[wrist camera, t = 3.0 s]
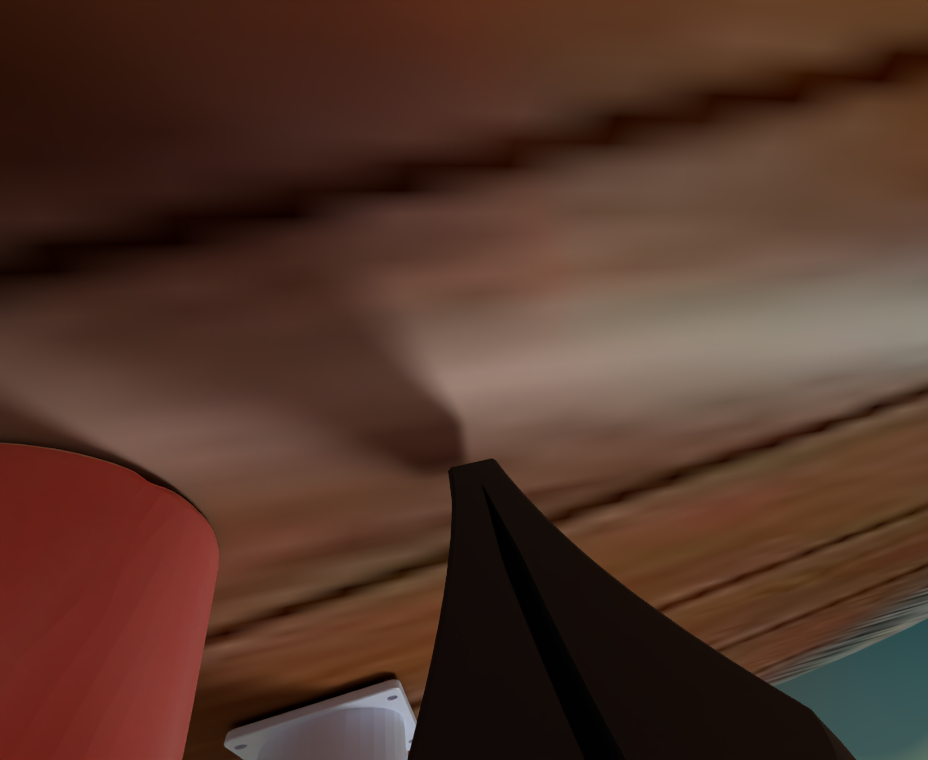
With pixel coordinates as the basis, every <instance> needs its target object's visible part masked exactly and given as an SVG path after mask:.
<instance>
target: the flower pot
mask: <svg viewBox="0 0 928 760" xmlns="http://www.w3.org/2000/svg"><path fill="white" fill-rule="evenodd" d="M218 567H219V548H218V543H217V539H216V536H215V534H214V531H213V530H212V528H211V526H210V524H209V523H208V522H207V520H206V519H205V518H204V517H203V516H202V515H201V514H200V512H199V511H198V510H197V509H196V508H195V507H194V506H192V505H191V504H190V503H189V502H188V501H186V500H185V499H184V498H183V497H181V496H180V495H178V494H177V493H175V492H173V491H171V490H169V489H167V488H164V487H161V486H158V485H155V484H152V483H150V482H148V481H147V480H145V479H144V478H143V477H141V476H140V475H139V474H137V473H136V472H134V471H132V470H130V469H128V468H125V467H122V466H120V465H117V464H115V463H111V462H108V461H105V460H101V459H98V458H94V457H90V456H86V455H83V454H79V453H74V452H69V451H65V450H60V449H54V448H47V447H39V446H32V445H25V444H15V443H0V760H182V759H183V754H184V749H185V744H186V739H187V734H188V729H189V724H190V719H191V714H192V708H193V703H194V698H195V692H196V687H197V681H198V676H199V671H200V665H201V660H202V655H203V649H204V644H205V638H206V633H207V627H208V622H209V616H210V611H211V605H212V600H213V595H214V589H215V584H216V578H217V573H218Z"/></svg>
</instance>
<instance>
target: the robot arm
mask: <svg viewBox="0 0 928 760" xmlns="http://www.w3.org/2000/svg"><path fill="white" fill-rule="evenodd" d="M448 474H449V482H450V490H451V497H452V521H451V539H450V549H449V558H448V567H447V576H446V583H445V590H444V596H443V602H442V608H441V614H440V620H439V625H438V630H437V635H436V640H435V645H434V650H433V655H432V660H431V664H430V669H429V674H428V678H427V682H426V687H425V691H424V695H423V699H422V703H421V707H420V711H419V715H418V719H417V721H416V718H415V716H414V714H413V711H412V709H411V707H410V704H409V702H408V699H407V697H406V695H405V692H404V690H403V687H402V685H401V683H400V681H399V680H396V679H392V680H388V681H385V682H381V683H378V684H375V685H372V686H369V687H366V688H362V689H359V690H356V691H353V692H350V693H346V694H343V695H340V696H337V697H334V698H331V699H327V700H324V701H321V702H318V703H315V704H312V705H308V706H305V707H302V708H299V709H296V710H292V711H289V712H286V713H283V714H280V715H277V716H273V717H270V718H267V719H264V720H261V721H257V722H254V723H251V724H248V725H245V726H242V727H238V728H235V729H233V730H231V731H229V732H228V733H227V735H226V738H225V742H224V746H225V747H226V748H227V749H229V750H230V751H232V752H233V753H235V754H236V755H237V756H239V757H240V758H242V759H243V760H856V759H855V758H854V756H853V755H852V754H851V753H850V752H849V750H848V749H847V748H846V747H845V746H844V745H843V744H842V742H841V741H840V740H839V739H838V738H837V737H836V736H835V735H834V734H833V733H832V732H831V731H830V730H829V728H827V727H826V725H825V724H824V723H823V722H822V721H821V720H820V719H819V718H818V717H817V716H816V715H815V713H814V712H813V711H812V710H811V709H809V708H808V707H806V706H805V705H803V704H801V703H800V702H798V701H796V700H795V699H793V698H791V697H790V696H788V695H786V694H785V693H783V692H782V691H780V690H778V689H777V688H775V687H773V686H772V685H770V684H768V683H767V682H765V681H763V680H762V679H760V678H759V677H757V676H755V675H754V674H752V673H751V672H749V671H747V670H746V669H744V668H743V667H741V666H739V665H738V664H736V663H735V662H733V661H731V660H730V659H728V658H727V657H725V656H724V655H722V654H721V653H719V652H718V651H716V650H715V649H713V648H712V647H710V646H709V645H707V644H706V643H704V642H702V641H701V640H699V639H698V638H696V637H695V636H693V635H692V634H690V633H689V632H687V631H686V630H685V629H683V628H682V627H680V626H679V625H678V624H676V623H675V622H673V621H672V620H671V619H669V618H668V617H666V616H665V615H664V614H662V613H661V612H659V611H658V610H657V609H655V608H654V607H652V606H651V605H650V604H648V603H647V602H645V601H644V600H642V599H641V598H640V597H638V596H637V595H636V594H634V593H633V592H632V591H630V590H629V589H628V588H627V587H625V586H624V585H623V584H621V583H620V582H619V581H618V580H616V579H615V578H614V577H612V576H611V575H610V574H609V573H608V572H606V571H605V570H604V569H603V568H601V567H600V566H599V565H598V564H597V563H595V562H594V561H593V560H592V559H591V558H589V557H588V556H587V555H586V554H585V553H584V552H583V551H581V550H580V549H579V548H578V547H577V546H576V545H575V544H574V543H572V542H571V541H570V540H569V539H568V538H567V537H566V536H565V535H564V534H563V533H562V532H561V531H560V530H558V529H557V528H556V527H555V526H554V525H553V524H552V523H551V522H550V521H549V520H548V519H547V518H546V517H545V516H544V515H543V514H542V513H541V512H540V511H539V510H538V509H537V508H536V506H535V505H534V504H533V503H532V502H531V501H530V500H529V499H528V498H527V497H526V496H525V495H524V494H523V493H522V492H521V490H520V489H519V488H518V487H517V486H516V485H515V484H514V482H513V481H512V480H511V479H510V478H509V477H508V475H507V474H506V473H505V472H504V470H503V469H502V468H501V467H500V465H499V464H498V463H497V461H496V460H494V459H488V460H483V461H478V462H474V463H469V464H465V465H460V466H455V467H452V468H451V469H450V470H449V471H448ZM409 750H410V752H409V755H407V751H409Z"/></svg>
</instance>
